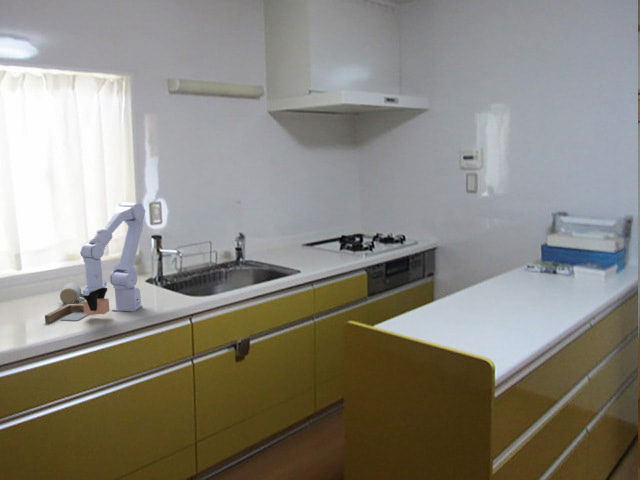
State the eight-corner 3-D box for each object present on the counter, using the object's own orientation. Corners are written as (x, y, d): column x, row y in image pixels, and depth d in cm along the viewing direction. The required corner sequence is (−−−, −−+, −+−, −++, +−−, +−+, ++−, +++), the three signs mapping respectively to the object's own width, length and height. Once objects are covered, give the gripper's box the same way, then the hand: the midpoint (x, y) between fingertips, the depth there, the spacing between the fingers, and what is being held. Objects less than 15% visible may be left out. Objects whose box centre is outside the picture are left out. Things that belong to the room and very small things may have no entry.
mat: (90, 313, 222) (90, 312, 222) (77, 321, 212) (77, 319, 212) (74, 312, 223) (74, 311, 222) (60, 320, 213) (60, 319, 213)
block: (109, 310, 216) (108, 298, 216) (104, 314, 212) (103, 301, 211) (90, 310, 217) (89, 298, 216) (84, 313, 213) (83, 301, 212)
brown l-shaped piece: (96, 311, 224) (95, 304, 224) (75, 323, 208) (74, 316, 208) (68, 310, 225) (67, 303, 225) (45, 323, 210) (44, 315, 209)
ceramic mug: (59, 305, 234) (58, 287, 232) (63, 300, 241) (62, 283, 240) (86, 303, 236) (85, 286, 235) (89, 298, 244) (88, 282, 243)
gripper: (94, 279, 204) (97, 314, 207) (112, 270, 219) (115, 303, 221) (76, 278, 205) (79, 314, 207) (95, 270, 219) (98, 303, 222)
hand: (96, 308), depth 214 cm, fingers closed on block, 4 cm apart
